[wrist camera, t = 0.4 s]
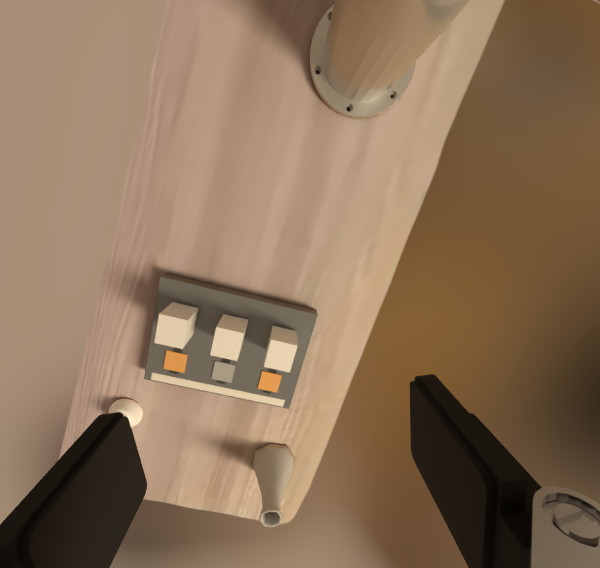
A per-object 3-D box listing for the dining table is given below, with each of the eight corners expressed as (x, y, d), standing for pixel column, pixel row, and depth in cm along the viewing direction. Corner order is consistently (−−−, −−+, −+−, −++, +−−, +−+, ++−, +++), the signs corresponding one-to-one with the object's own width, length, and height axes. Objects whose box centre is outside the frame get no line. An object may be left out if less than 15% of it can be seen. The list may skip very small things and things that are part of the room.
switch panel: (166, 273, 42) (159, 277, 40) (316, 309, 44) (317, 315, 42) (150, 371, 46) (143, 379, 44) (288, 400, 48) (288, 409, 46)
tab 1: (172, 302, 41) (159, 313, 37) (198, 308, 41) (187, 320, 37) (168, 328, 42) (154, 342, 38) (193, 334, 42) (182, 349, 38)
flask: (256, 479, 52) (249, 541, 43) (249, 445, 50) (240, 502, 41) (297, 473, 52) (300, 534, 43) (292, 439, 50) (293, 495, 41)
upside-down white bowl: (125, 391, 47) (104, 410, 48) (114, 403, 44) (93, 423, 45) (150, 410, 48) (130, 429, 49) (141, 423, 45) (120, 443, 46)
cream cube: (272, 325, 42) (271, 339, 38) (296, 331, 43) (297, 345, 38) (266, 350, 43) (263, 366, 39) (289, 355, 44) (289, 372, 39)
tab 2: (223, 313, 42) (216, 326, 37) (248, 319, 42) (243, 333, 38) (218, 339, 43) (210, 355, 38) (242, 345, 43) (237, 361, 39)
